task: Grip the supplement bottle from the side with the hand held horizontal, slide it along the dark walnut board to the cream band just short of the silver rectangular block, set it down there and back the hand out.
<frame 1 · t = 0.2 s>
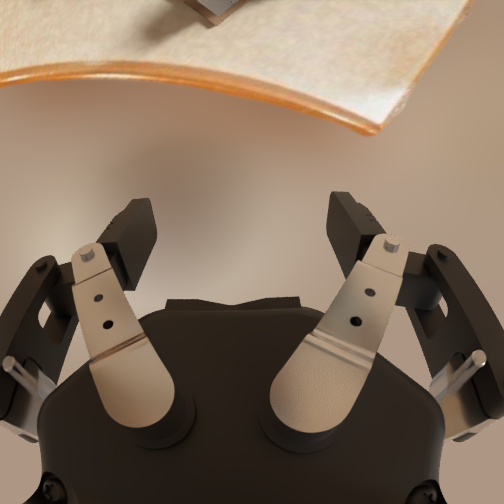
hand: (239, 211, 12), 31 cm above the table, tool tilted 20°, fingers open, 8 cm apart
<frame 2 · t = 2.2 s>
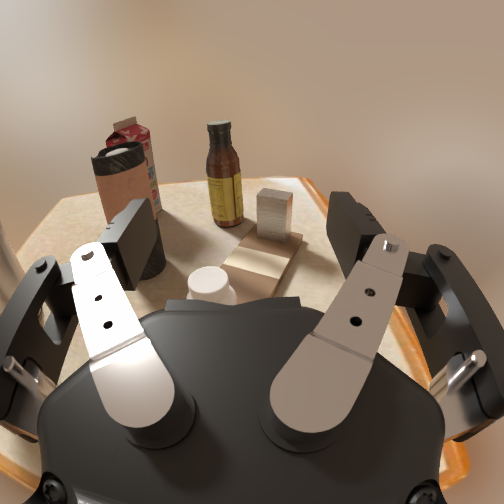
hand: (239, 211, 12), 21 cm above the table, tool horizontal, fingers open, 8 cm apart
sauce bottle: (227, 221, 54), on the table
travel mug: (146, 267, 43), on the table
juice carton: (143, 214, 58), on the table
supplement bottle: (218, 338, 32), on the table
silver rectangular block: (273, 241, 48), resting on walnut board
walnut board: (255, 269, 42), on the table
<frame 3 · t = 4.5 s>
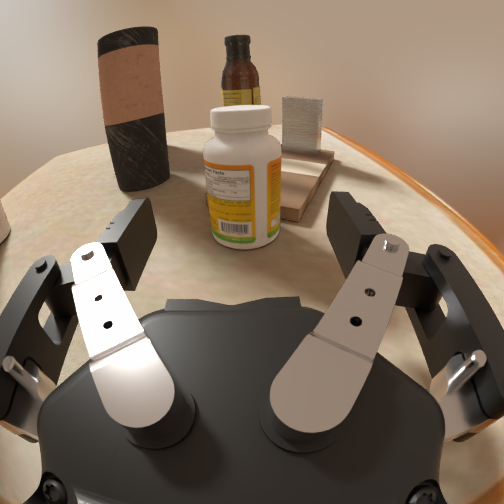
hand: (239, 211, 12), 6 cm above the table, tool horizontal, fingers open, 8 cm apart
sauce bottle: (243, 147, 44), on the table
travel mug: (144, 181, 33), on the table
supplement bottle: (245, 233, 22), on the table
silver rectangular block: (301, 158, 38), resting on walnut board
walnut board: (285, 175, 32), on the table
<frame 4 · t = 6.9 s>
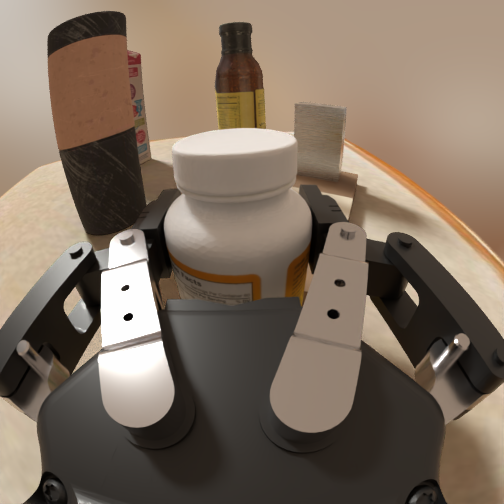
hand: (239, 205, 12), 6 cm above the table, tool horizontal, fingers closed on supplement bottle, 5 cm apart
sauce bottle: (243, 164, 36), on the table
travel mug: (115, 218, 25), on the table
juice carton: (125, 166, 40), on the table
supplement bottle: (244, 335, 14), on the table, touching gripper
silver rectangular block: (316, 183, 30), resting on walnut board
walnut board: (298, 213, 24), on the table
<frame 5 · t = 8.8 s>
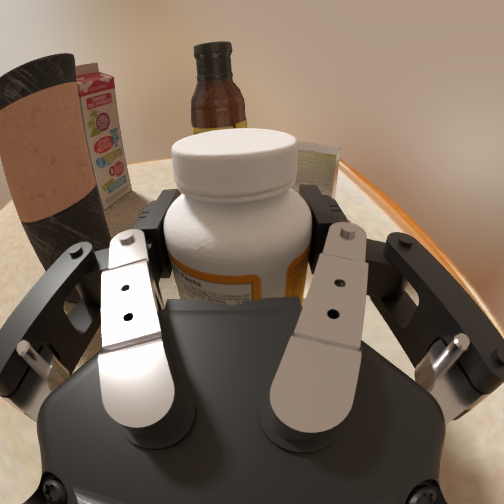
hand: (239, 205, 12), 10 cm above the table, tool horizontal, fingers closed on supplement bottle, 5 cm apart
sauce bottle: (225, 203, 34), on the table
travel mug: (89, 278, 23), on the table
juice carton: (105, 199, 38), on the table
supplement bottle: (244, 335, 14), point 3 cm above the table, touching gripper
silver rectangular block: (304, 233, 28), resting on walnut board
when the fingers open (7 cm above the table, at t = 11.1 s): supplement bottle stays where it is, resting on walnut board.
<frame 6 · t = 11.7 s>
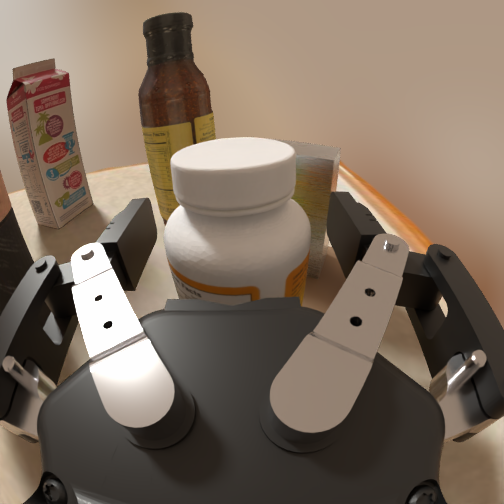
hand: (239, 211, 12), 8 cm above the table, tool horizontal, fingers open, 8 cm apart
sauce bottle: (192, 223, 27), on the table
travel mug: (24, 321, 15), on the table
juice carton: (64, 215, 30), on the table
supplement bottle: (245, 340, 14), point 1 cm above the table, touching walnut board
silver rectangular block: (288, 270, 20), resting on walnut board
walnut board: (242, 356, 14), on the table
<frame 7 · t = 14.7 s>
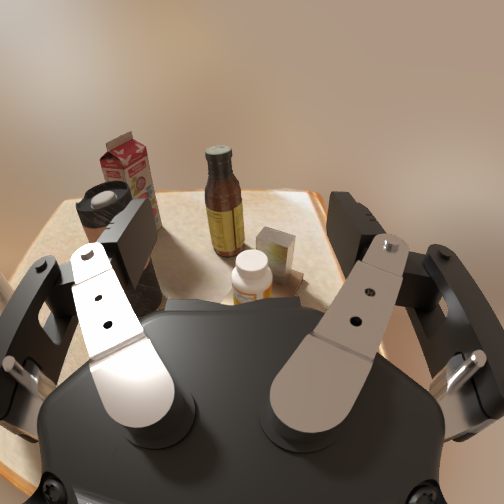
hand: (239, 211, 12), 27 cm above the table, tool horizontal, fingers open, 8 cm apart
sauce bottle: (228, 248, 52), on the table
travel mug: (142, 300, 42), on the table
juice carton: (142, 232, 56), on the table
supplement bottle: (252, 308, 40), point 1 cm above the table, touching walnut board
silver rectangular block: (272, 279, 46), resting on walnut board
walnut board: (250, 313, 40), on the table
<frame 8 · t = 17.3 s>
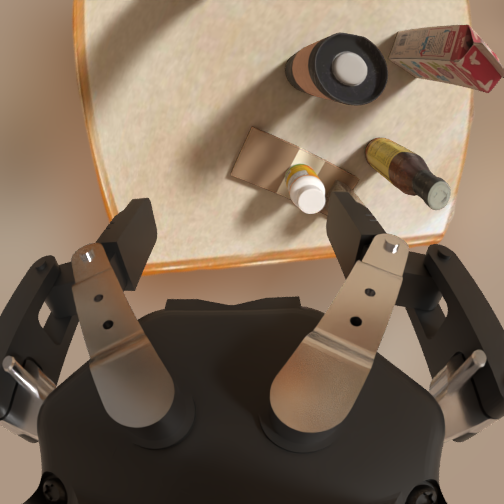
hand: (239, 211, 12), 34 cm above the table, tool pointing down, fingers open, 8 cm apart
sauce bottle: (377, 150, 43), on the table
travel mug: (307, 71, 35), on the table
juice carton: (407, 54, 31), on the table
supplement bottle: (299, 176, 45), point 1 cm above the table, touching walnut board
silver rectangular block: (334, 191, 48), resting on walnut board
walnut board: (296, 173, 46), on the table
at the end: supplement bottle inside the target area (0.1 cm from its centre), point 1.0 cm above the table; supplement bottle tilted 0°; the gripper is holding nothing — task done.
